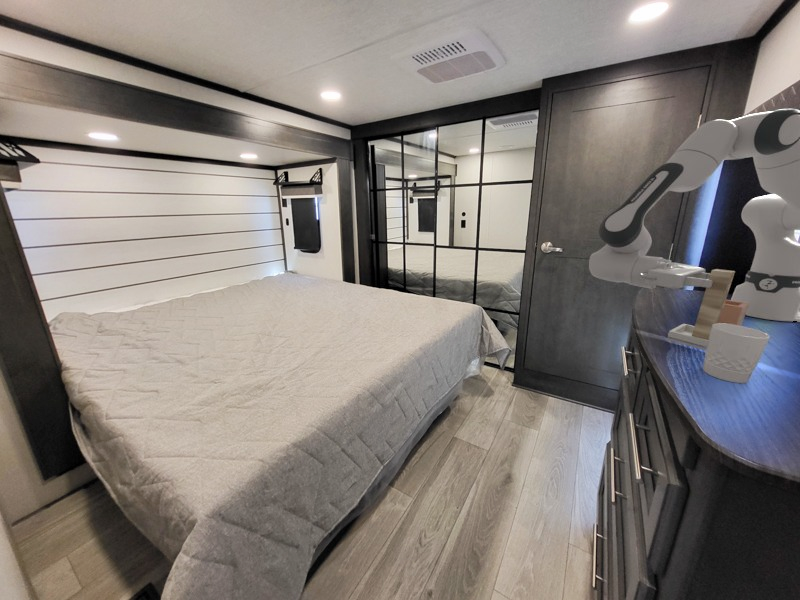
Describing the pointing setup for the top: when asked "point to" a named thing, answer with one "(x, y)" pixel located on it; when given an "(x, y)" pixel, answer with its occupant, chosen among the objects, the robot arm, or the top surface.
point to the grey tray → (686, 337)
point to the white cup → (733, 352)
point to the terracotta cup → (733, 312)
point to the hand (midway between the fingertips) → (718, 282)
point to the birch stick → (713, 302)
